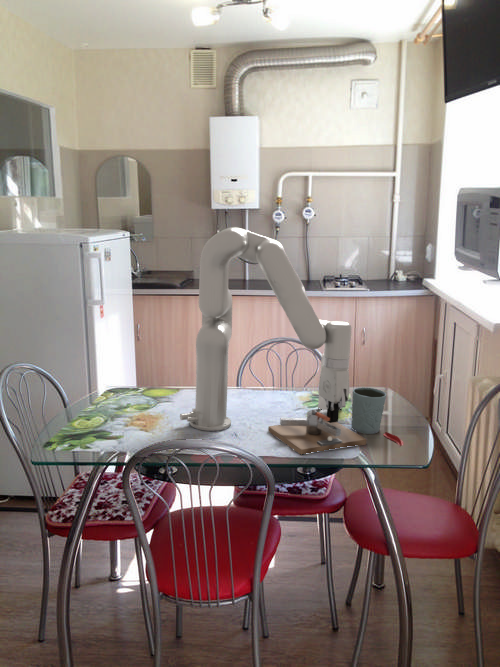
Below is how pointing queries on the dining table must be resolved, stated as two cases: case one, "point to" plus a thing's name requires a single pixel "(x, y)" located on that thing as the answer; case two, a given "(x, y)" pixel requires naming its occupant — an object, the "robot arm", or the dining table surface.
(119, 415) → the dining table surface
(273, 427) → the board
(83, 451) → the dining table surface
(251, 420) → the dining table surface
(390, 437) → the cayenne pepper
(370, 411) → the grey-green cup
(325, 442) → the level window
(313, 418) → the capstan
